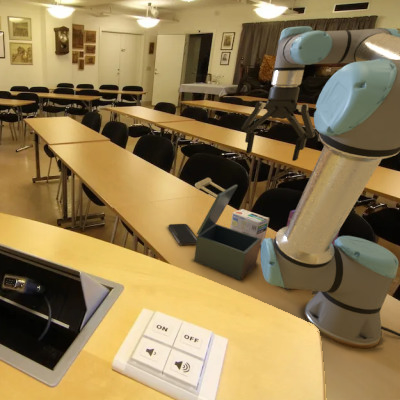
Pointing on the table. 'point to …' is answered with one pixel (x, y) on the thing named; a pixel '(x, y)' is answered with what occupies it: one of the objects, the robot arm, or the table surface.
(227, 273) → the dark green box
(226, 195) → the lid
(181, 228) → the phone
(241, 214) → the light bulb box
